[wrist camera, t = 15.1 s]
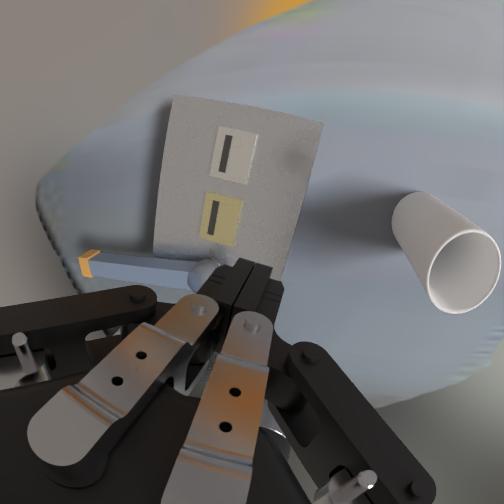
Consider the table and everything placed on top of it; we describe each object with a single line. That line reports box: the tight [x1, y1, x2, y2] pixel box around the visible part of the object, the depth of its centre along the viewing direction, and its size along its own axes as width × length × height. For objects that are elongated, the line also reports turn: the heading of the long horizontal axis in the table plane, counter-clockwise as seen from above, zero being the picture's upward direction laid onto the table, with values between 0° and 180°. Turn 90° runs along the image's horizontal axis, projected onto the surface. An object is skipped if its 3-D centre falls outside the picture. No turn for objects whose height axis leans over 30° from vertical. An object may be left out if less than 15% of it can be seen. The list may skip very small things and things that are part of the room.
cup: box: [391, 192, 501, 314], centre depth 28 cm, size 8×8×16 cm
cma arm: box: [78, 249, 219, 293], centre depth 39 cm, size 22×4×3 cm, turn 91°
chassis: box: [153, 95, 324, 281], centre depth 37 cm, size 22×18×6 cm
